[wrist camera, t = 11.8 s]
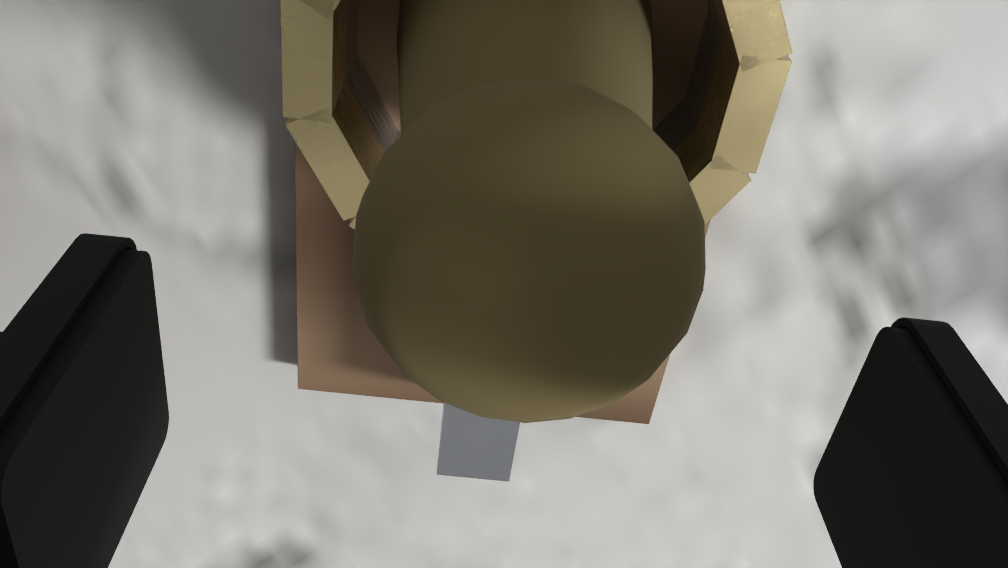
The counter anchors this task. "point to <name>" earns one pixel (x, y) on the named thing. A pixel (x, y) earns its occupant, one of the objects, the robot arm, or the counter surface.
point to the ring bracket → (685, 130)
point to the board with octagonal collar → (329, 240)
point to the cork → (528, 210)
